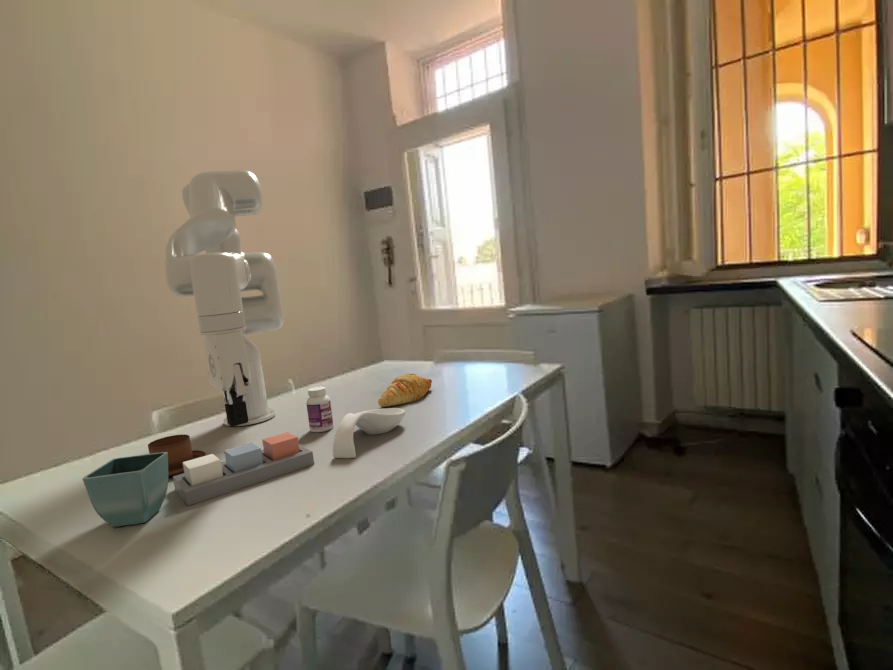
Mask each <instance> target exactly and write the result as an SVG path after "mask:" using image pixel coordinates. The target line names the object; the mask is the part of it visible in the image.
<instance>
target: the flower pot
mask: <svg viewBox="0 0 893 670" xmlns="http://www.w3.org/2000/svg"><path fill="white" fill-rule="evenodd" d="M82 482H83V485H84V486H85V489H86V493H87V496H88V497H89V500H90V503H91V506H92V508H93V509H94V511H95V512H96V513H97V515H98V516H99V517H100V518H101V519H102V520H103V521H104V522H105V523H107V524H108V525H110V526H111V527H114V528H115V527H121V526H122V527H123V526H130V525H137V524H143V523H146V522H148V521H149V520H150V519H151V518H152V517H153V516H154V515H155V514H156V513H158V512H159V510H160V509H161V508H162V505H163V503H164V501H165V498H166V495H167V492H168V486H169V476H168V452H161V453H153V454H149V453H147V454H139V455H132V456H130V455H129V456H123V457H122V456H121V457H115V458H112V459H110V460H108V461H107V462H105V463H104V464H103V465H101V466H99V467H98V468H95V470H93V471H91V472H90V473H87V474H86V475H85V476H84V477H82Z"/></svg>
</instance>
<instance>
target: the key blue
mask: <svg viewBox="0 0 893 670" xmlns="http://www.w3.org/2000/svg"><path fill="white" fill-rule="evenodd" d="M261 450H262V448H261V447H260V446H258V445H257V444H255V443H253V442H249V443H246V444H242V445H240V446H239V445H238V446H235V447H231V448H229V449H225V450H224V451H223V452H224V458H225V461H226V465H227V467H228V468H230V469H231V470H232V471H233V472H238V471H241V470H244V469H247V468H251V467H254V466H257V465H260V464H263V459H262V453H261Z"/></svg>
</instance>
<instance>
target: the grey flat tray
mask: <svg viewBox="0 0 893 670" xmlns="http://www.w3.org/2000/svg"><path fill="white" fill-rule="evenodd" d="M299 450H300V452H299V453H295V454H292V455H289V456H286V457H283V458H279V459H276V460H273V459H271V458H269V457H268V456H266V455H265V454H264V449H261V453H262V459H263V464H260V465H257V466H254V467H251V468H247V469H244V470H241V471H238V472H233V471H232V470H231V469H230V468H228V467H227V465H226V460H223V461H221V466H222V472H223V476H222V477H219V478H215V479H212V480H209V481H206V482H203V483H199V484H196V485H193V486H192V485H191V484H190V483H189V482H188V481H187V480H186V479H185V474H184V472H183V473H180V474H177V475H173V476H172V481H173V486H174V491H176V493H177V494H178V495H179V496H180V498H181V499H182V500H183V501H184V503H185V504H186V505H187V506H188V507H189V506H192V505H195V504H199V503H201V502H204V501H208V500H211V499H213V498H217V497H219V496H222V495H225V494H228V493H231V492H234V491H238V490H240V489H243V488H246V487H249V486H252V485H255V484H259V483H261V482H264V481H267V480H270V479H273V478H276V477H277V478H278V477H279V476H282V475H285V474H288V473H291V472H294V471H298V470H301V469H303V468H306V467H310V466H313V465H315V459H314V452H313V451H312V450H310V449H308V448H306V447H304V446H302V445H300V444H299Z"/></svg>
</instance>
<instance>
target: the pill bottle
mask: <svg viewBox="0 0 893 670" xmlns="http://www.w3.org/2000/svg"><path fill="white" fill-rule="evenodd" d="M326 394H327V389H326V387H325V386H315V387H311V388H308V389H307V395H308V398H307V400H306V403H305V404H306V411H307V417H308V425H309V430H310V432H312V433H323V432H327V431H330V430H332V429H333V428H334V419H333V412H332V411H333V410H332V402H331V398H330V396H329V395H326Z"/></svg>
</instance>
